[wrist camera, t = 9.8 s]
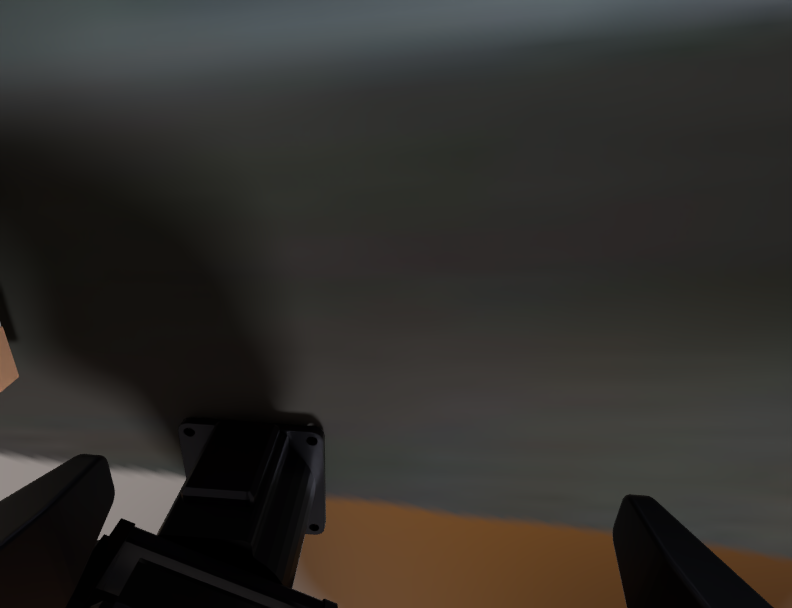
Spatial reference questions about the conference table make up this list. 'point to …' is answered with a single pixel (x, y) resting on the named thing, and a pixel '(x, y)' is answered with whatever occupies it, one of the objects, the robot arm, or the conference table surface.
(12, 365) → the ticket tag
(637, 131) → the conference table surface
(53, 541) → the robot arm
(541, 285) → the conference table surface
